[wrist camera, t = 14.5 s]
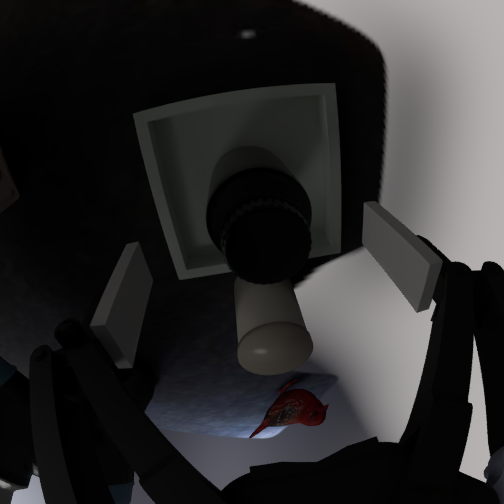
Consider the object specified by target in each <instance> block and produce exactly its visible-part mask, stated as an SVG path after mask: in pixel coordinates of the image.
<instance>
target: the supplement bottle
mask: <svg viewBox="0 0 504 504" xmlns="http://www.w3.org/2000/svg"><path fill="white" fill-rule="evenodd" d="M311 222H312V207H311V202H310V199H309V197H308V194H307V192H306V191H305V189H304V187H303V186H302V185H301V183H300V182H299V181H298V180H297V178H296V177H295V176H294V175H293V174H292V172H291V171H290V170H289V169H288V168H287V167H286V165H285V164H284V163H283V162H282V161H281V160H280V159H279V158H278V157H277V156H276V155H275V154H273V153H272V152H270V151H269V150H267V149H264V148H261V147H257V146H244V147H239V148H236V149H234V150H232V151H230V152H228V153H227V154H225V155H224V156H223V157H222V158H221V159H220V160H219V161H218V163H217V164H216V166H215V168H214V170H213V172H212V176H211V180H210V186H209V193H208V199H207V206H206V227H207V231H208V234H209V236H210V238H211V240H212V242H213V244H214V245H215V246H216V248H217V249H218V250H219V251H220V252H221V253H222V255H223V257H224V262H225V263H226V264H227V265H228V268H229V269H230V270H231V271H233V273H234V275H236V276H238V277H239V278H240V279H242V280H245V281H246V282H249V283H254V284H261V285H266V284H274V283H280V282H282V281H283V280H287V279H288V278H290V277H291V276H293V275H295V274H296V272H297V271H299V270H301V268H302V266H303V265H304V264H305V263H306V260H307V259H308V257H309V252H310V251H311V244H312V239H311V231H310V226H311Z"/></svg>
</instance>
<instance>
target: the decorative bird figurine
mask: <svg viewBox="0 0 504 504" xmlns="http://www.w3.org/2000/svg"><path fill="white" fill-rule="evenodd" d="M297 380H298V379H296V380H294V381H291V382H288V383H287V384H286V385H285V386H284V387H283V388H281V389H282V390H281V389H280V390H281V391H279V392H277V393H280V392H282V393H281V394H280V395H279V397H278V398H277V399H276V400H275V402H274V403H273V404H272V406H271V407H270V408H269V409H268V411H267V413H266V415H265V418H264V420H263V422H262V423H261V425H260V426H259V427H258V428H257V429H256V430H255V431H254V432H253V433H252V434H251V436H250V437H249V438H252V437H253V436H255V435H256V434H258V433H259V432H261V431H262V430H263V429H265V428H266V427H268V426H270V427H276V426H285V425H290V424H294V423H301V424H304V425H307V426H317V425H320V424H321V423H323V421H324V420H325V417H326V410H327V408H328V405H329V404H328V405H325V406H323V404H322V403H321V402H320V400H318V399H317V398H316V396H315V395H314V394H312V393H311V392H309V391H307V390H304V389H292V390H289V391H287V392H286V390H287V389H288V387H290V386H291V385H292V384H293V382H295V381H297Z"/></svg>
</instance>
